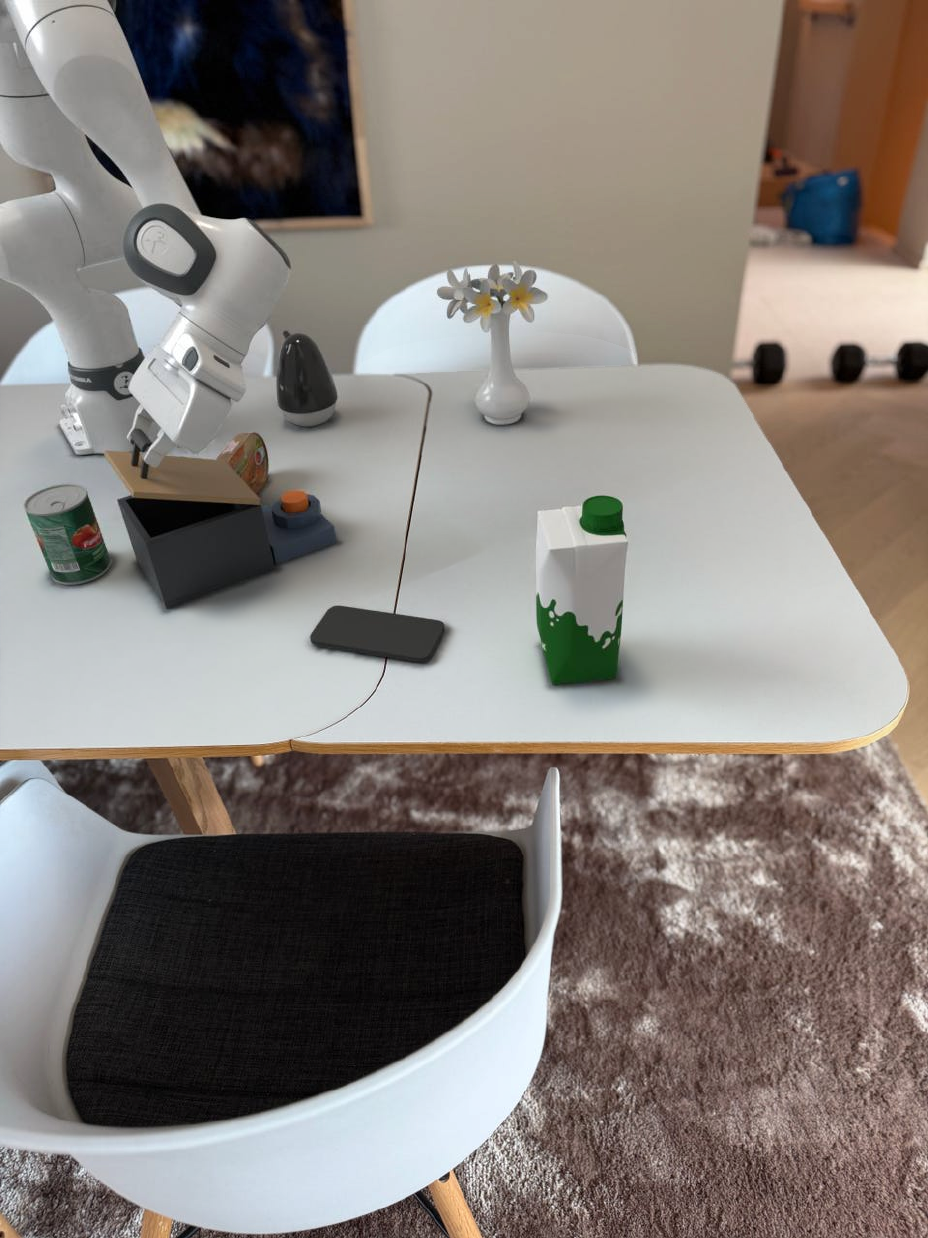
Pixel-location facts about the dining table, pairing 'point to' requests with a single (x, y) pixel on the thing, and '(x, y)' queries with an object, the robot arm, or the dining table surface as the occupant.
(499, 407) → the flower vase
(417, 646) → the phone
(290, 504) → the release button
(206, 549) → the dark grey bin
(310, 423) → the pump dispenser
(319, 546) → the panel
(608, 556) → the milk carton
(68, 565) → the canned tomato
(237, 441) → the tin
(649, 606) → the dining table surface
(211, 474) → the lid
